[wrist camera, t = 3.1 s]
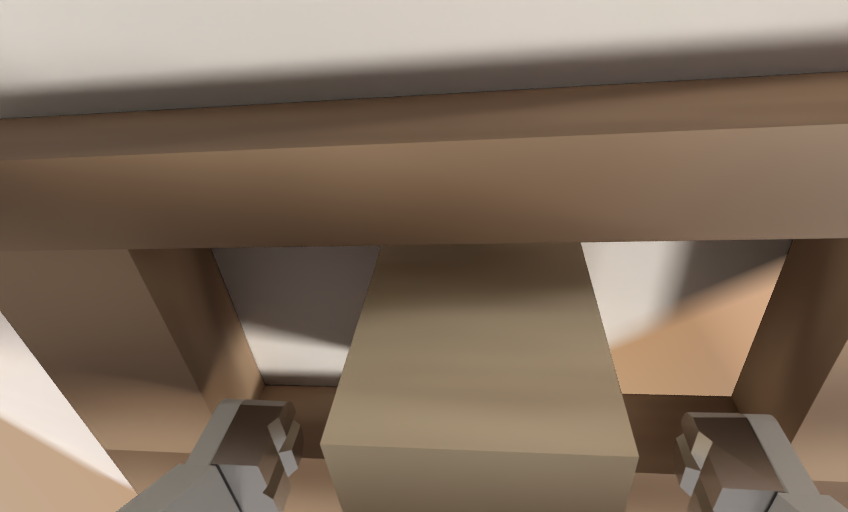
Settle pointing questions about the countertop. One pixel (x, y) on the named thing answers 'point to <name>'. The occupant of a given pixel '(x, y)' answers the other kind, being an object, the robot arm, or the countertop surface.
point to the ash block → (480, 387)
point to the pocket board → (417, 240)
